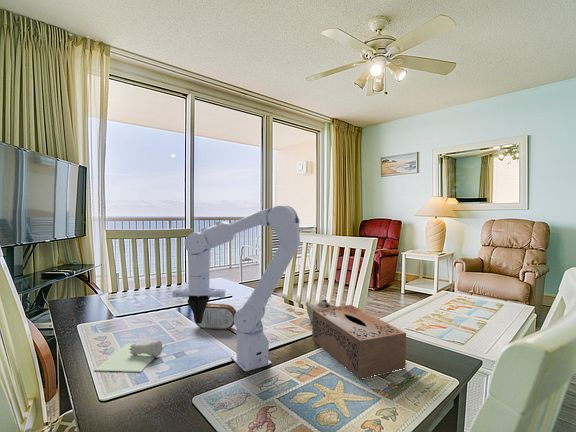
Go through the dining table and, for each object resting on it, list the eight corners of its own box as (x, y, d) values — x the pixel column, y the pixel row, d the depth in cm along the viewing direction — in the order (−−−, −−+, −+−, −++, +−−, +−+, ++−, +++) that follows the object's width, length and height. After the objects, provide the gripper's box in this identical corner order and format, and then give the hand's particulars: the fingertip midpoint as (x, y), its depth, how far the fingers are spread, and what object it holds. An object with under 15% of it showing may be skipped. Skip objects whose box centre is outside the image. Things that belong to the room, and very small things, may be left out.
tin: (237, 327, 112) (237, 304, 112) (235, 331, 109) (235, 306, 109) (195, 325, 114) (196, 302, 113) (192, 329, 110) (192, 304, 110)
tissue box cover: (312, 340, 103) (312, 309, 103) (350, 334, 108) (351, 304, 108) (359, 381, 79) (360, 341, 79) (405, 370, 85) (406, 332, 84)
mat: (166, 345, 97) (166, 344, 97) (141, 372, 81) (141, 371, 81) (127, 344, 98) (127, 343, 98) (94, 371, 82) (94, 370, 82)
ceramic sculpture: (307, 293, 125) (346, 297, 123) (305, 315, 125) (344, 320, 123) (305, 302, 114) (348, 306, 112) (304, 326, 114) (346, 331, 113)
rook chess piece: (164, 345, 92) (138, 346, 93) (159, 336, 90) (132, 337, 91) (158, 360, 89) (131, 361, 90) (153, 351, 86) (125, 352, 87)
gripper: (227, 272, 95) (227, 317, 95) (178, 271, 95) (178, 317, 95) (222, 277, 88) (222, 326, 88) (169, 276, 88) (169, 325, 88)
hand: (199, 322), depth 91 cm, fingers closed
